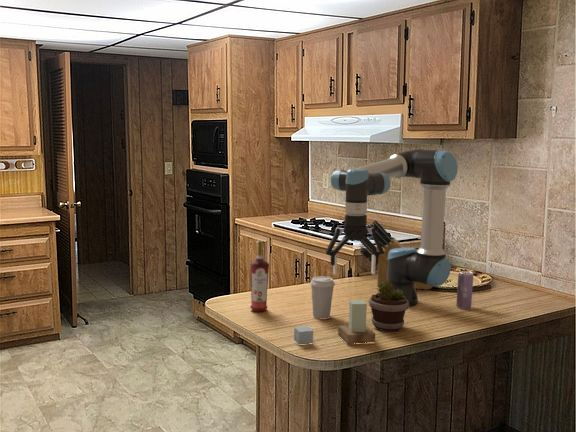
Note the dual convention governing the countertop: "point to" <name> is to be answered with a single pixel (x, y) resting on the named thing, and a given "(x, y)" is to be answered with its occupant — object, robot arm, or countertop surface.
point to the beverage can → (464, 290)
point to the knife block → (385, 253)
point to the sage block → (357, 315)
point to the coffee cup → (322, 296)
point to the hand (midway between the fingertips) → (354, 273)
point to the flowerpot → (388, 307)
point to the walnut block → (356, 335)
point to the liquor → (259, 280)
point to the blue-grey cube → (303, 335)
